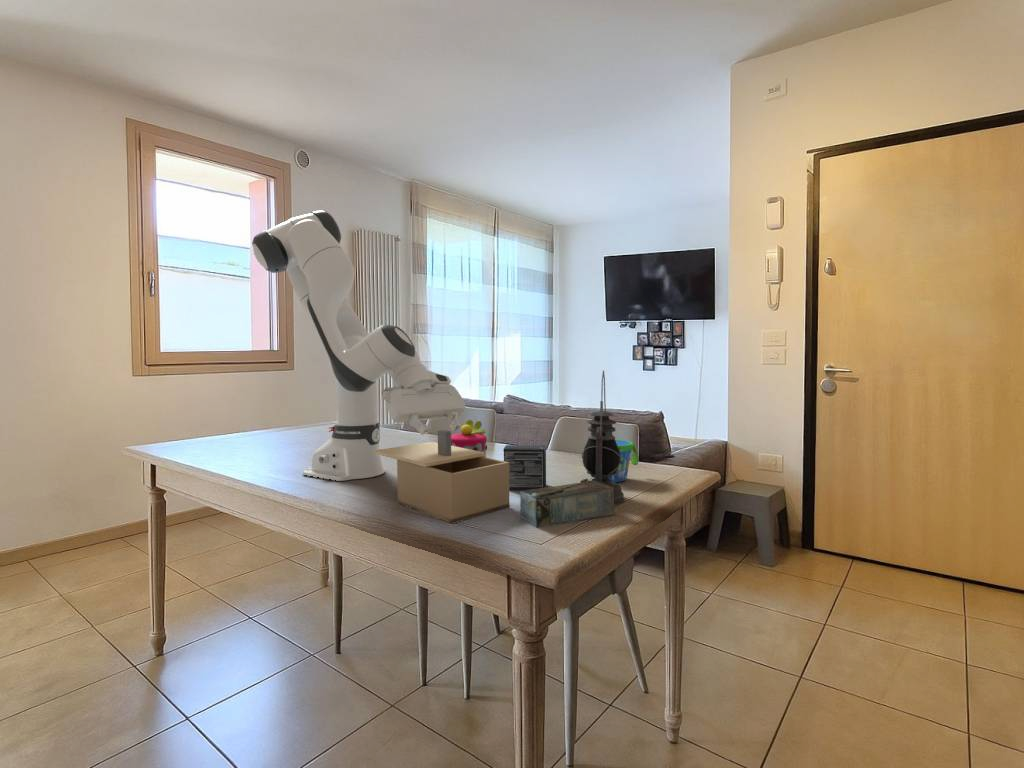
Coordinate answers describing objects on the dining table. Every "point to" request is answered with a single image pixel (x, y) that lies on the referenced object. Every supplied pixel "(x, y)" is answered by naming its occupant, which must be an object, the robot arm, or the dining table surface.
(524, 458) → the small box
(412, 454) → the lid flap
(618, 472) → the snack cup
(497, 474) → the cardboard box
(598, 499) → the beverage carton
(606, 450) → the lantern
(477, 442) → the cake
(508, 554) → the dining table surface
